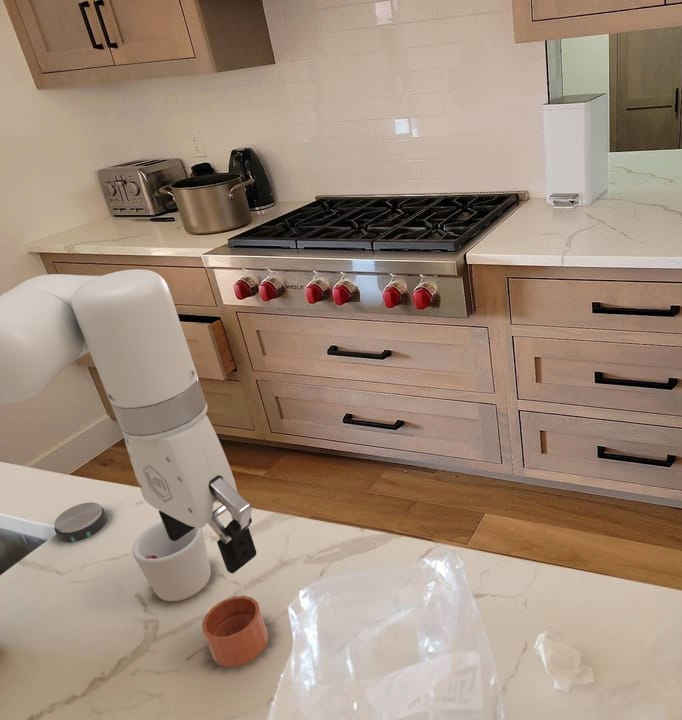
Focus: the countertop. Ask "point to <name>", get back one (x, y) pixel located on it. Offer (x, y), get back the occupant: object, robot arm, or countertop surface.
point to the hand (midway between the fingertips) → (212, 547)
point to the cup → (173, 562)
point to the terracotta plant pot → (231, 619)
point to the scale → (80, 522)
